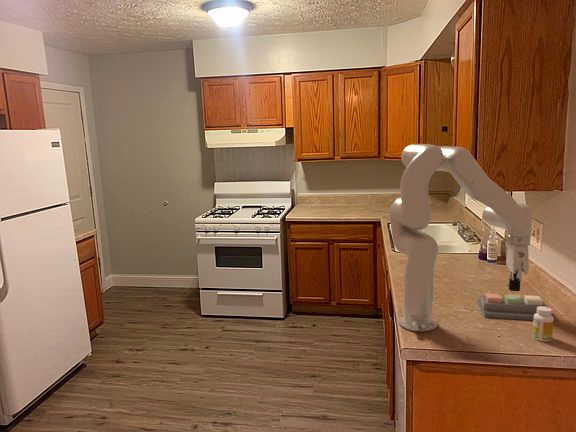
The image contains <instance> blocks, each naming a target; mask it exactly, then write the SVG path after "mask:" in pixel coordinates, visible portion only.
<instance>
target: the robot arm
mask: <svg viewBox="0 0 576 432" xmlns="http://www.w3.org/2000/svg"><path fill="white" fill-rule="evenodd" d="M400 157H401V158H400V159H401V162H402V164H403V166H405V169H404V170H403V171H404V172H403V173H402V176H401V178H400V186H399V188H400V197H399V198H396V199H395V200H394V201H393V202H392V204H391V206H390V209H389V222H390V229H391V236H392V242H393V245H394V248H395V249H396V251H398V252H399V253H400V254H401V255H404V256H405V257H407V261H406V264H405V267H404V272H403V273H404V274H403V307H402V308H403V309H402V310H403V311H402V312H403V314H402V315H400V316H398V320H397V321H398V324H399V326H401V327H402V328H404V329H405V330H408V331H413V332H423V333H424V332H430V331H434V330H435V329H436V328H438V320H436V318H434V317H433V316H434V315H433V314H434V312H433V311H434V289H435V287H434V285H435V270H436V263H437V258H438V254H439V246H438V243H437V241H436V239H435V238H434V237H433V236H431V235H430V234H427V233H425V232H423V231H421V230H424V229H426V228H427V227H428V226H429V225H430V223H431V216H432V215H431V208H430V196H429V182H430V179H431V177H432V176H433V174H434V173H435V172H436V171H437V172H447V173H449V174H451V176H452V178H453V179H454V180H455V181H456V183H457V184H458V185H459V186H460V188H461V189H462V190H463V192H464V193H465V194H466V195H467V196H469V197H470V198H472V199H473V200H475V201H476V202H479V203H481V204H483V205H485V206H486V207H485V208H484V209H483V210H482V213H481V214H482V220H483V221H484V222H485V223H486V224H487V225H489V226H493V227H495V228H501V229H503V230H505V244H506V245H507V247H506V249H507V250H506V259H505V261H506V267H507V269H508V270H509V282H508V289H509V291H510V292H520V290H521V279H523V274H525V275H528V274H529V261H530V260H529V259H530V258H529V257H530V256H529V246H531V245H530V244H531V237H532V236H531V232H532V223H533V222H532V221H533V207H532V206H531V205H529V204H526V203H518V202H517V200H515V199H514V198H513V196H512V195H510V193H508V192H507V191H506V190H504V189H503V188H502V187H501V186H500V185H498V183H496V182H495V181H493V180H491V178H489V176H488V175H487V174H486V171H484V170H483V168H482V167H481V166H480V164H479V163H478V161H477V160H476V158H474V156H473V154H472V153H471V152H470V151H469V150H468V149H467V148H465V147H462V146H452V145H451V146H450V145H449V146H448V145H445V146H443V145H435V144H430V143H410V144H409V145H407V146H405V148H404V149H403V150H402V153H401V156H400Z"/></svg>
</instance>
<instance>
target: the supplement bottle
mask: <svg viewBox="0 0 576 432" xmlns="http://www.w3.org/2000/svg"><path fill="white" fill-rule="evenodd" d="M552 312H553V308H550V307H549V306H548V307H544V306H539V307H537V313H535V314H534V319H533V320H532V331H531V332H532V335H531V336H532V338H533V339H534V340H537V341H539V342H546V343H547V342H551V341H552V340H553V334H554V320H555V319H554V317H553V315H552Z"/></svg>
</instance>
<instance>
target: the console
mask: <svg viewBox="0 0 576 432" xmlns="http://www.w3.org/2000/svg"><path fill="white" fill-rule="evenodd" d="M501 298H502V303H487V302H486V300H485V295H480V296H479V299H477V301H476V302H477V305H478V308H479V310H480V312H481V313H482V315H483V317H484V318H492V319H504V320H505V319H506V320H507V319H508V320H522V321H533V319H534V314H535V313H537V307H539V306H540V305H527V304H526V303H525V301H524V297H521V299H522V304H507V303H506V302H505V300H504V298H505V296H501ZM543 306H544V307H548V308H549V306H548V305H547V304H546V303H545V302H544V301H543Z"/></svg>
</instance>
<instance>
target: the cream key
mask: <svg viewBox="0 0 576 432" xmlns="http://www.w3.org/2000/svg"><path fill="white" fill-rule="evenodd" d="M523 296H524V297H523V298H524V301H525V303H526V304H527V305H540V306H543V302H544V300H543V299H542V297H540V296H539V295H529V294H528V295H525V294H524V295H523Z"/></svg>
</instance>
